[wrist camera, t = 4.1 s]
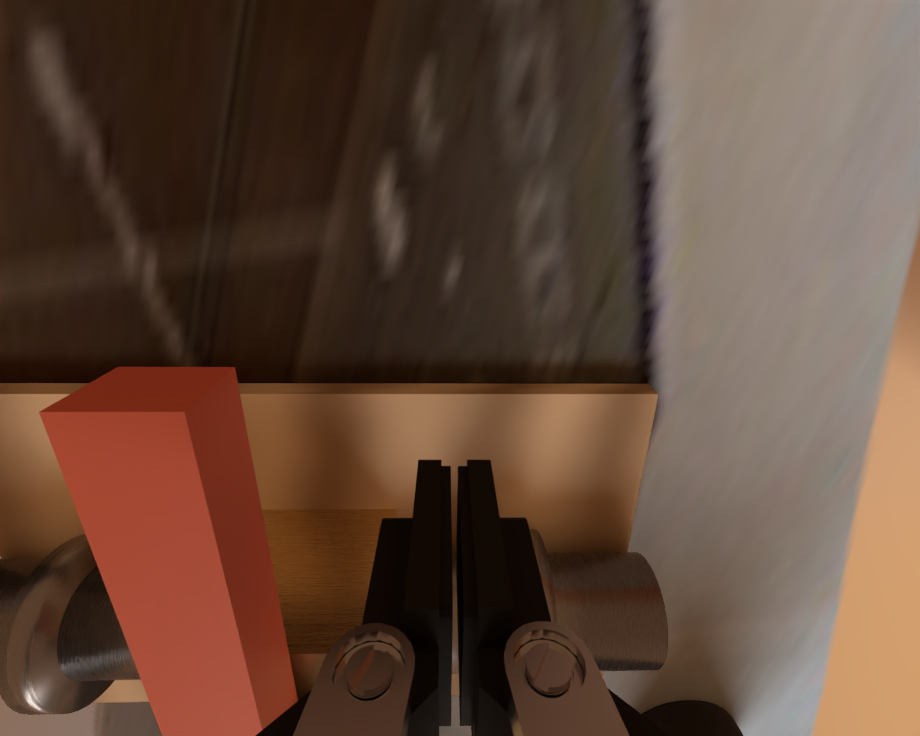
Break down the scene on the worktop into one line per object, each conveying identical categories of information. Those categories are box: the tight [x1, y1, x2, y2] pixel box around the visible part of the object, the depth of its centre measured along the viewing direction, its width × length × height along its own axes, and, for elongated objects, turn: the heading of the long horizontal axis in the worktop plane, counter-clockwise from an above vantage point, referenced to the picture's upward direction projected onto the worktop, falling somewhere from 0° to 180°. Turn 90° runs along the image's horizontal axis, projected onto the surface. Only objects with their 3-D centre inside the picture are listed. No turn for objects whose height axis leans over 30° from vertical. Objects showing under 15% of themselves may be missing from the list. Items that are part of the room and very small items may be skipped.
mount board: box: [0, 383, 658, 703], centre depth 21 cm, size 28×18×1 cm, turn 89°
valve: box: [0, 509, 668, 715], centre depth 18 cm, size 28×7×8 cm, turn 89°
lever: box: [39, 367, 298, 736], centre depth 11 cm, size 15×4×3 cm, turn 179°
